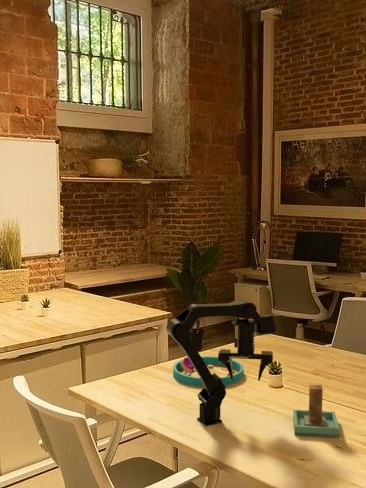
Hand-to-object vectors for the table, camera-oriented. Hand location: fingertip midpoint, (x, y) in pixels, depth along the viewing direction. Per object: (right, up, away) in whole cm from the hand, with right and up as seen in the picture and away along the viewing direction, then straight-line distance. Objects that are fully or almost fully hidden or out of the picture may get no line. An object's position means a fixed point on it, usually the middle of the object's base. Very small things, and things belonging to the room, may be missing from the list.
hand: (245, 380), depth 198 cm
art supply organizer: (-11, -9, +45) cm, 47 cm away
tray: (+22, -14, -8) cm, 28 cm away
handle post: (+22, -13, -8) cm, 27 cm away
